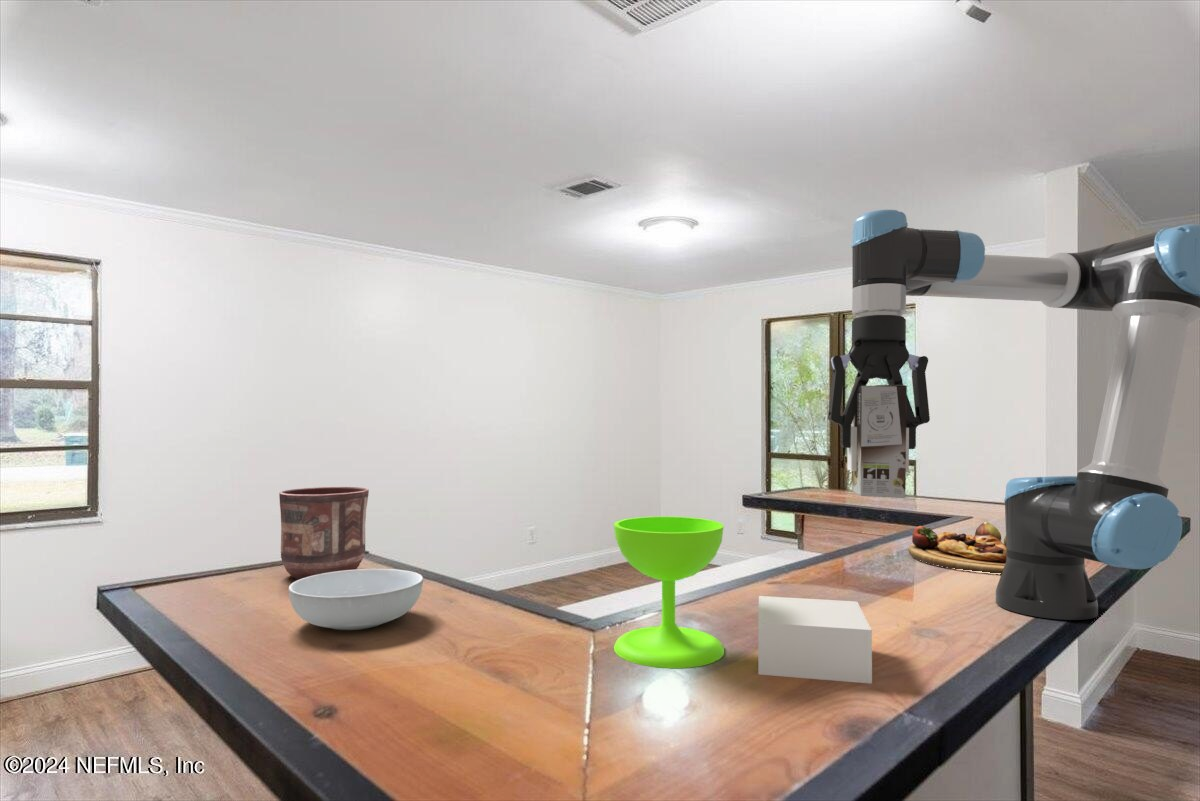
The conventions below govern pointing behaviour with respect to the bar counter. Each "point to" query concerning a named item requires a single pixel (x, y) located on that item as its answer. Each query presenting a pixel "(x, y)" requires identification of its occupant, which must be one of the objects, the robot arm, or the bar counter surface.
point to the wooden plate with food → (961, 549)
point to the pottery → (322, 529)
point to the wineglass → (668, 587)
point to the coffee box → (880, 441)
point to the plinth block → (814, 639)
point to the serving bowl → (355, 597)
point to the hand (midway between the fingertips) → (877, 470)
